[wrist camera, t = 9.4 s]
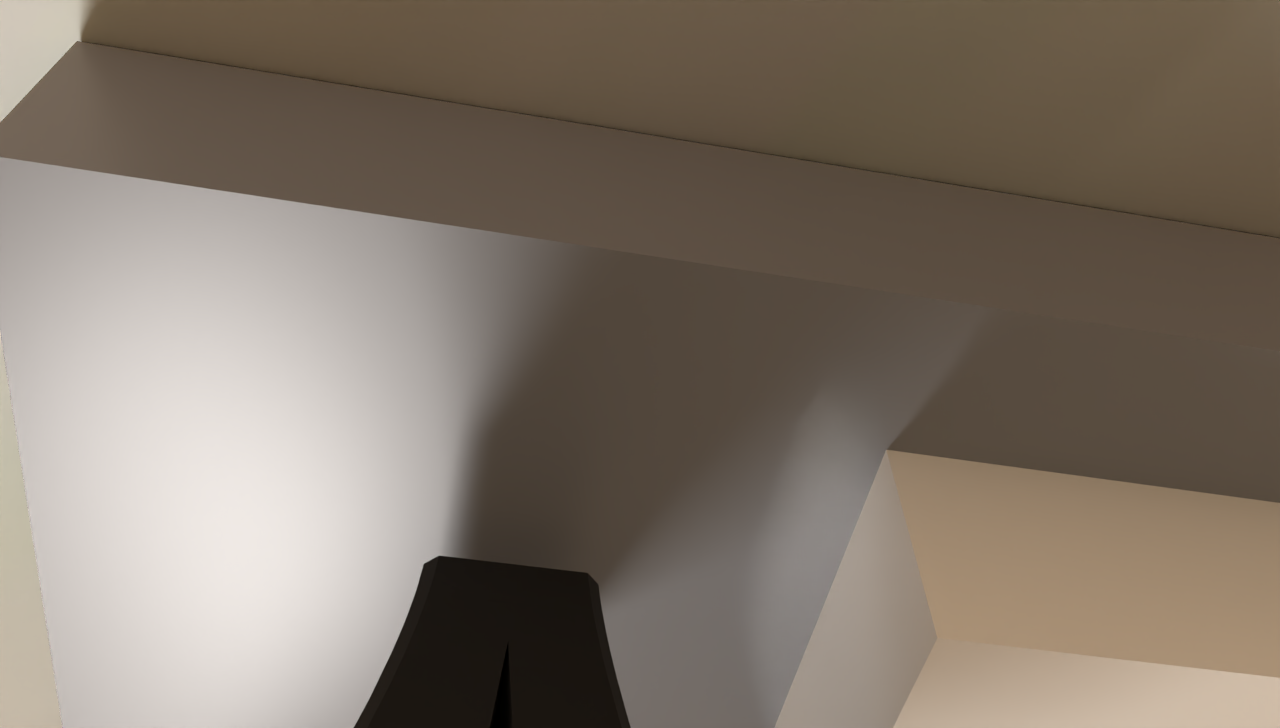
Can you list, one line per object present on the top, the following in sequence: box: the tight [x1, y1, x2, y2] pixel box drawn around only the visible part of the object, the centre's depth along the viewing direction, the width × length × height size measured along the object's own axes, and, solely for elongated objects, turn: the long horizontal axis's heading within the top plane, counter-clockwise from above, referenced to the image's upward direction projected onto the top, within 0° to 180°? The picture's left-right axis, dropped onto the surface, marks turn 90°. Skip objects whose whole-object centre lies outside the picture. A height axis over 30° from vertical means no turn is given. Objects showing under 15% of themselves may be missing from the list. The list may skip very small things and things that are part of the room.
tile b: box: [774, 450, 1280, 728], centre depth 11 cm, size 4×4×2 cm
